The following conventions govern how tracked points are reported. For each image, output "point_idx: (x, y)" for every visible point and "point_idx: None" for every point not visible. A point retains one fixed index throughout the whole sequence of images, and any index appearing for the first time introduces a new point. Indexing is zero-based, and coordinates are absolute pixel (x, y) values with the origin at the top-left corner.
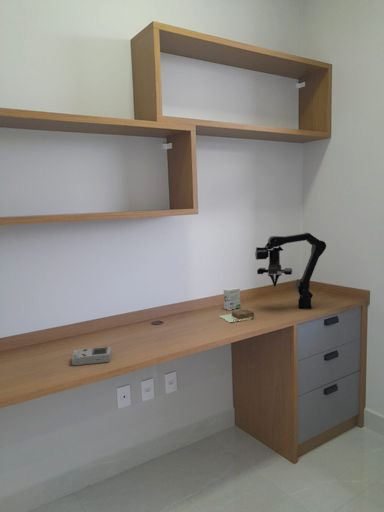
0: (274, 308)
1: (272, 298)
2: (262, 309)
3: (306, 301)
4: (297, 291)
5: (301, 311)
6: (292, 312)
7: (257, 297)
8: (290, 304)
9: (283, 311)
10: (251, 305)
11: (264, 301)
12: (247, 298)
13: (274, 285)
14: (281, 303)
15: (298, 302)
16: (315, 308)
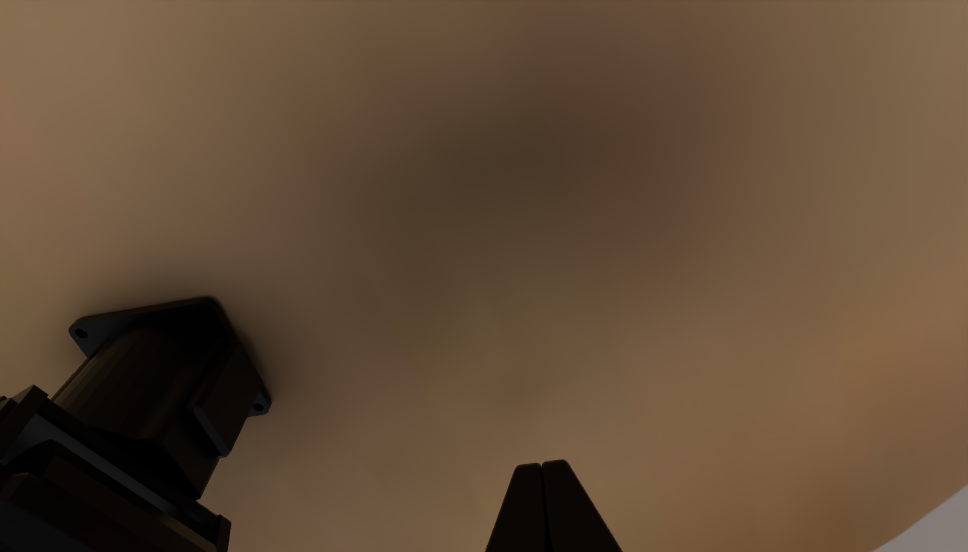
0: (529, 195)
1: (665, 548)
2: (702, 68)
3: (71, 387)
4: (113, 511)
5: (104, 176)
6: (180, 68)
7: (832, 541)
8: (403, 422)
9: (335, 74)
10: (902, 234)
11: (734, 443)
12: (951, 489)
13: (552, 482)
14: (517, 428)
15: (218, 378)
16: (57, 363)
